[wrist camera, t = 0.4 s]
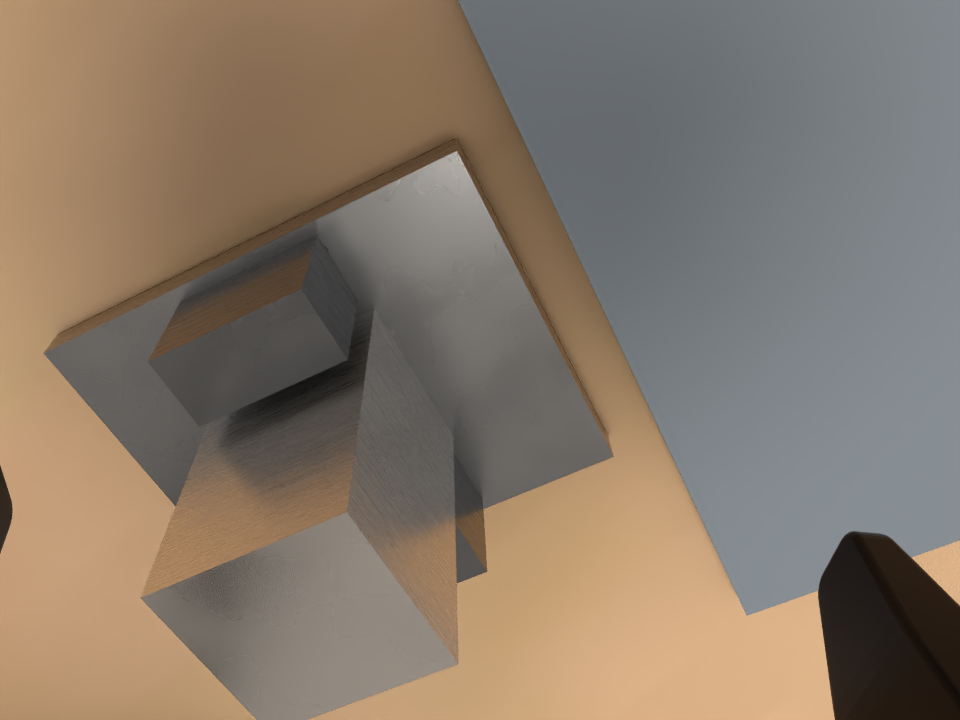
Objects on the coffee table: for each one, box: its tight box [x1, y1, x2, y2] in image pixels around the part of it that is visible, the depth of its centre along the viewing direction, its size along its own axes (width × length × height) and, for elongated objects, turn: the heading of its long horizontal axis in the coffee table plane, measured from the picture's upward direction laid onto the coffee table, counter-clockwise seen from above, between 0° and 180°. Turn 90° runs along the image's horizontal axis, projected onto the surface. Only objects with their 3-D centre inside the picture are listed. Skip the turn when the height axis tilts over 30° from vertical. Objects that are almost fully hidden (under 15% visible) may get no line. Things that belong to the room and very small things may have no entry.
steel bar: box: [141, 309, 458, 720], centre depth 21 cm, size 4×4×8 cm
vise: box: [44, 139, 614, 583], centre depth 24 cm, size 12×10×4 cm
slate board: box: [458, 0, 960, 615], centre depth 24 cm, size 11×22×1 cm, turn 26°
